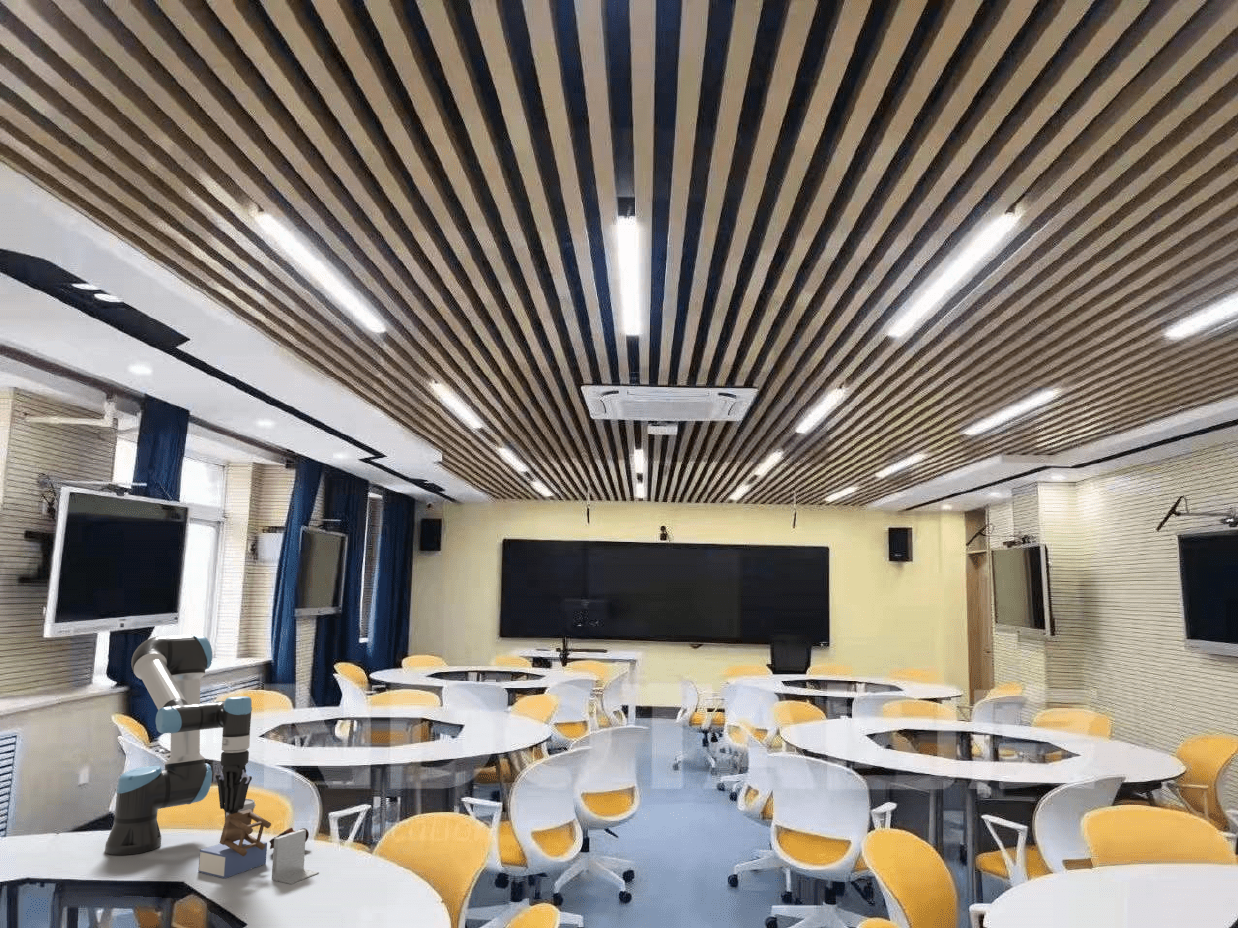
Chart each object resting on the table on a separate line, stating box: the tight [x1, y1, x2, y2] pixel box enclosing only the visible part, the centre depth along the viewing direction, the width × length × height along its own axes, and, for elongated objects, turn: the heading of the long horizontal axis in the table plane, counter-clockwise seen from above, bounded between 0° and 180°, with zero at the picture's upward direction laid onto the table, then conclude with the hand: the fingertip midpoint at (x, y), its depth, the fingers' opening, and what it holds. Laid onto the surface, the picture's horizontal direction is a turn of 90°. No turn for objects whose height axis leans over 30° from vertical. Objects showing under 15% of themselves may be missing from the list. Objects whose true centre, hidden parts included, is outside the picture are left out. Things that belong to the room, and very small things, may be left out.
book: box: [198, 839, 268, 879], centre depth 243 cm, size 11×14×6 cm
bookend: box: [271, 828, 320, 885], centre depth 237 cm, size 8×10×11 cm
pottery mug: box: [268, 827, 310, 850], centre depth 259 cm, size 12×10×8 cm
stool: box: [219, 809, 272, 856], centre depth 242 cm, size 10×8×8 cm
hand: (230, 834), depth 244 cm, fingers closed
